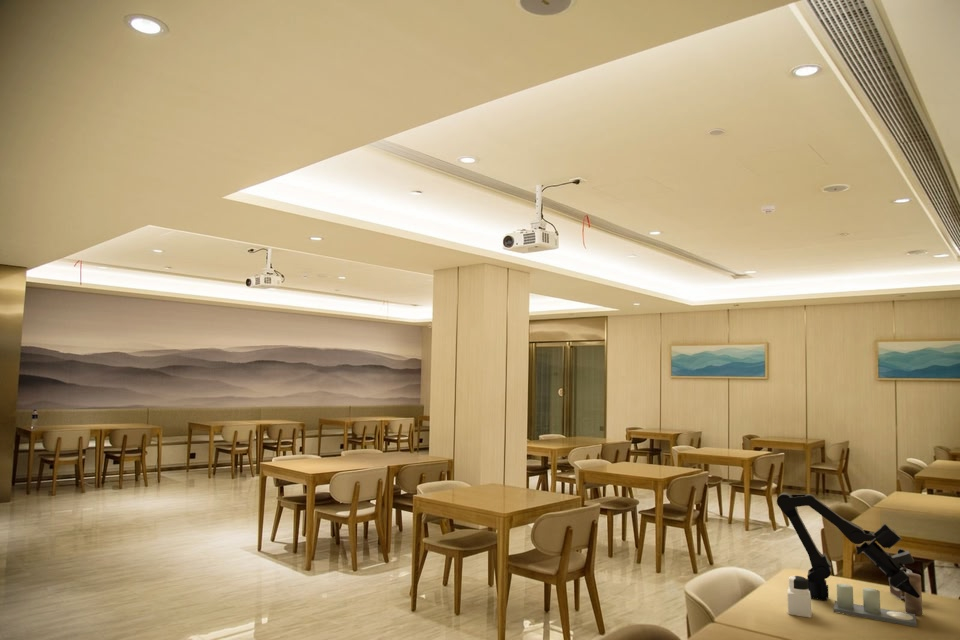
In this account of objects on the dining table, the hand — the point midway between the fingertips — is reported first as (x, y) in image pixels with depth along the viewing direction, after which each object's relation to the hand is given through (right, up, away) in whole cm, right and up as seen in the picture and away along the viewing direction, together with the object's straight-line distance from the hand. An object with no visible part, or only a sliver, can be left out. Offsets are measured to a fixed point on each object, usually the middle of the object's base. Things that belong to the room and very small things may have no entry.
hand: (917, 593), depth 222 cm
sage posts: (-21, -5, -1) cm, 22 cm away
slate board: (-17, -6, -3) cm, 19 cm away
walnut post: (-1, -7, 0) cm, 7 cm away
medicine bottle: (-43, -6, -3) cm, 43 cm away
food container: (+7, -9, +17) cm, 20 cm away
